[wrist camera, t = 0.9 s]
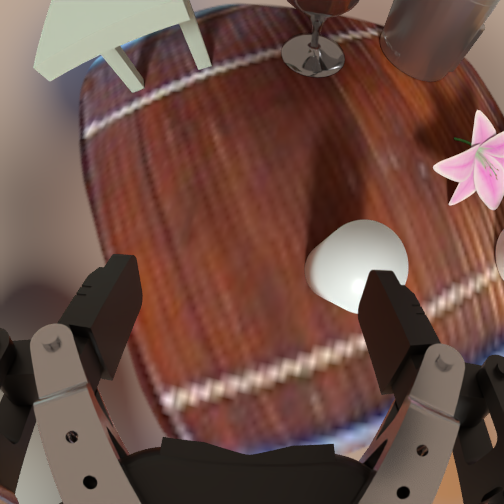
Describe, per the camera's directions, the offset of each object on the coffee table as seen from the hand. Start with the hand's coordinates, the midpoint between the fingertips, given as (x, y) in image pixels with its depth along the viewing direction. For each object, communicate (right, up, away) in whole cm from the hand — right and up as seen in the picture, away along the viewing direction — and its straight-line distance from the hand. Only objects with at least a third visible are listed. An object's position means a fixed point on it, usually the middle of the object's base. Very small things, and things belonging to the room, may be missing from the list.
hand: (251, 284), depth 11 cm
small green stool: (-8, +17, +20) cm, 27 cm away
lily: (+22, +9, +16) cm, 29 cm away
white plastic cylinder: (+7, 0, +17) cm, 18 cm away
